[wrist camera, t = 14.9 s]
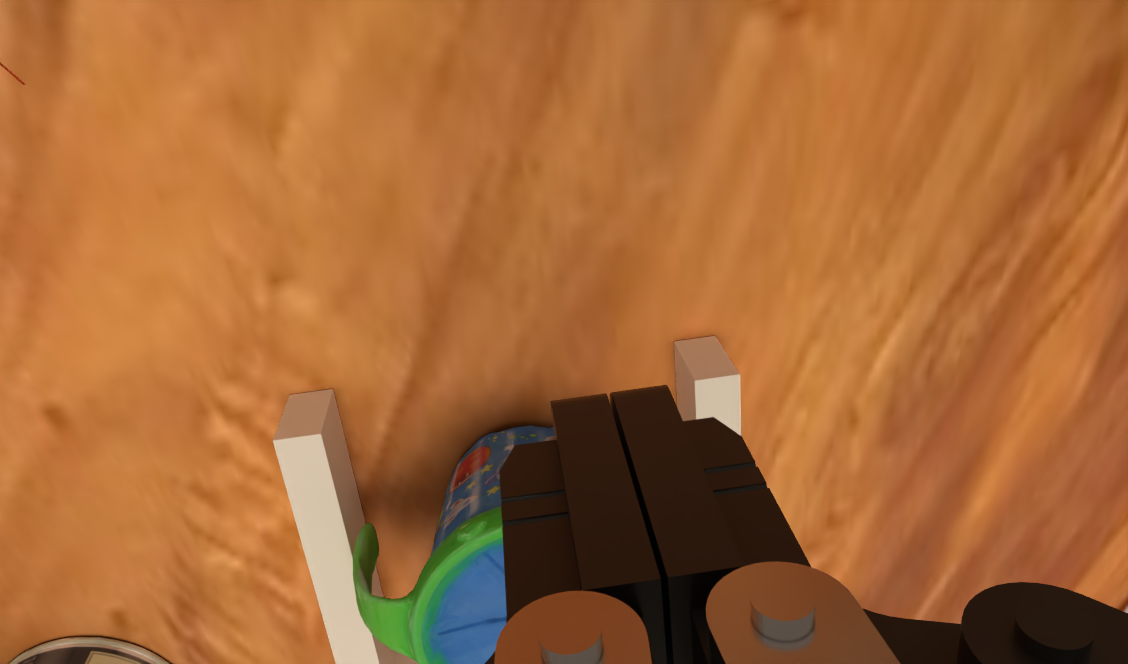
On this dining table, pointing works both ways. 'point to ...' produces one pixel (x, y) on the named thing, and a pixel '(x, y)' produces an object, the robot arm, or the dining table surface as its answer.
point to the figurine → (12, 74)
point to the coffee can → (88, 652)
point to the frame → (335, 510)
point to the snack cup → (451, 566)
